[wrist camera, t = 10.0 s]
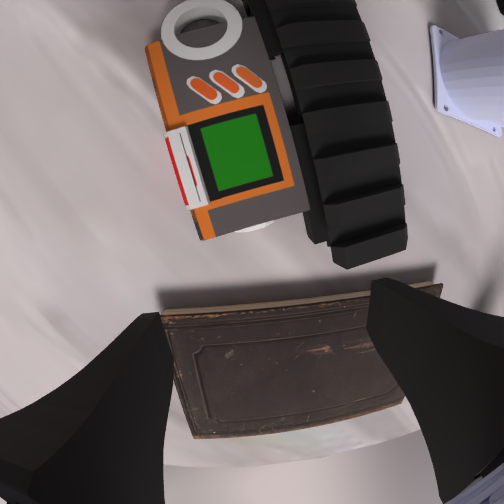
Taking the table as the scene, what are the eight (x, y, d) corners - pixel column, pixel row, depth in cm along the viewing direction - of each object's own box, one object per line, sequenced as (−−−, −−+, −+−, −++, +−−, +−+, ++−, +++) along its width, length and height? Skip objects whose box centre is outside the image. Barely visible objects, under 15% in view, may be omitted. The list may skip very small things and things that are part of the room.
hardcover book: (162, 301, 21) (156, 317, 19) (429, 273, 23) (443, 284, 21) (195, 425, 27) (194, 441, 24) (392, 393, 29) (400, 406, 26)
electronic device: (244, -15, 11) (313, 217, 16) (241, 6, 14) (300, 208, 19) (132, 15, 11) (198, 250, 16) (144, 33, 14) (202, 236, 19)
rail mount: (387, 220, 20) (425, 242, 15) (308, 243, 20) (332, 274, 15) (314, -39, 12) (336, -72, 7) (228, -33, 12) (231, -72, 8)
